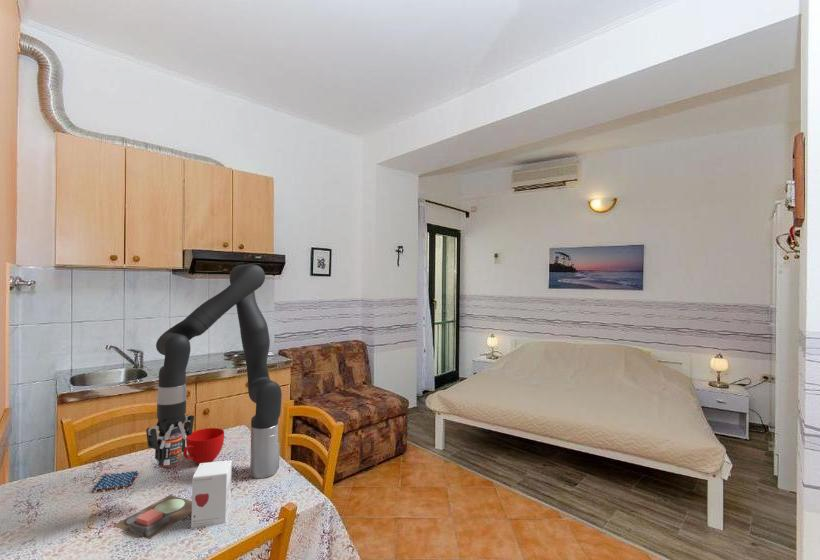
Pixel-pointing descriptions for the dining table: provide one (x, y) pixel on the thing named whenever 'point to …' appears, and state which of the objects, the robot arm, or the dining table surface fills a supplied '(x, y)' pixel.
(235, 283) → the robot arm
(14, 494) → the dining table surface
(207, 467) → the supplement box
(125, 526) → the brown tray
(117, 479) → the woven mat
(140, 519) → the button
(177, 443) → the supplement bottle
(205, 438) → the ceramic cup
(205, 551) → the dining table surface
